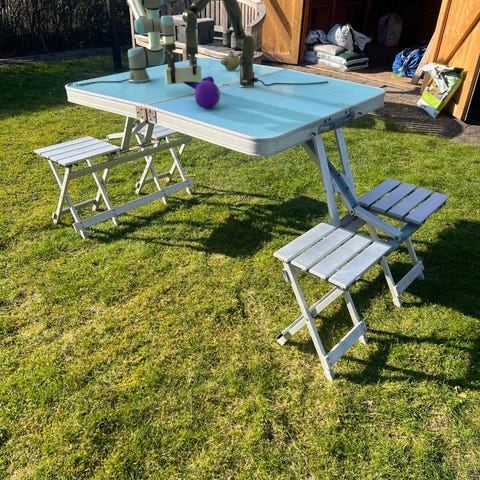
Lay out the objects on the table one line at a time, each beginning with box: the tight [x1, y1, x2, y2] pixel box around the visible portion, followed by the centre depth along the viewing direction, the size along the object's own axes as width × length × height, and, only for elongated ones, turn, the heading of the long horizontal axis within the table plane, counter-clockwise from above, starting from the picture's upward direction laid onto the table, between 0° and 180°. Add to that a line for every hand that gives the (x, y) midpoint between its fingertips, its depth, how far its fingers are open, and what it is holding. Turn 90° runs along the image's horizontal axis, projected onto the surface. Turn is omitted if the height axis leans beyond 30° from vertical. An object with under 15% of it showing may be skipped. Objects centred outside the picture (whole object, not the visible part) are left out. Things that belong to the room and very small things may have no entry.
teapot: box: [220, 50, 242, 72], centre depth 368 cm, size 21×12×15 cm, turn 120°
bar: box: [164, 64, 202, 85], centre depth 291 cm, size 23×6×9 cm, turn 107°
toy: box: [182, 75, 221, 110], centre depth 265 cm, size 16×18×27 cm
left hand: (172, 82), depth 292 cm, fingers closed on bar, 5 cm apart
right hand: (193, 73), depth 293 cm, fingers closed on bar, 5 cm apart
